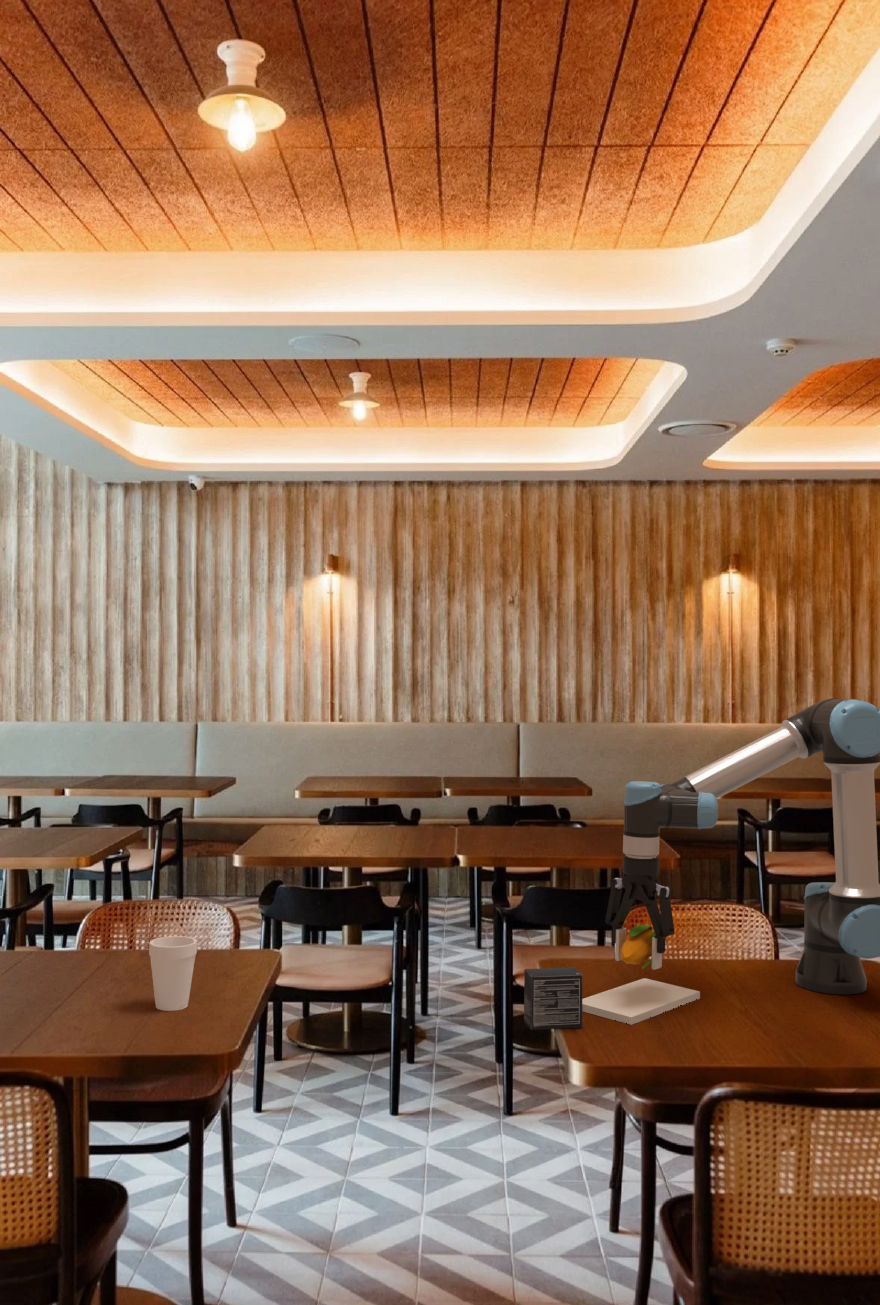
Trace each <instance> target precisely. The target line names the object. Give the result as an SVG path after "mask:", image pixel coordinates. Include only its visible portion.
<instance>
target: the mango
mask: <svg viewBox="0 0 880 1305" xmlns="http://www.w3.org/2000/svg"><path fill="white" fill-rule="evenodd" d="M654 936H656V935H655V932H654V930H653V926H650V925H647V924H639V925H636V926H635V927H632V928H631V929H630V930H629V932H628V937H626V941H625V942H624V944H623V945H622V947H621V960H620V961H622V963H624V964H625V965H628V966H633V965H639V964H641V963H643V962H644V961H646V960H647V959H648V958H649V957H652V937H654ZM651 964H652V958H651V959H650V960H648V961H647V962H645V963H644V964H643V965H642V967H641V968H640V969H641V970H643V969H645V968H646V967H648V966H649V965H651Z"/></svg>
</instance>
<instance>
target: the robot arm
mask: <svg viewBox="0 0 880 1305" xmlns="http://www.w3.org/2000/svg"><path fill="white" fill-rule="evenodd" d="M819 753H822V757H823V759H822V760H823V761H822V762H823V764H824V765H825V767H827V768H828V769H829V770H830V774H831V796H832V797H831V798H832V799H831V800H832V818H833V820H832V821H833V823H832V824H833V843H834V845H833V846H834V863H835V864H834V866H835V882H830V881H829V882H824V881H823V882H817V881H816V882H810V883H808V884H807V885H805V892H804V897H803V900H804V911H803V912H804V918H803V919H804V923H803V924H804V927H803V928H804V930H803V936H804V937H803V938H804V939H803V946H804V947H803V950H802V953H801V956H800V959H799V961H798V964H797V967H796V970H795V974H794V975H795V983H796V985H798V986H799V987H801V988H803V989H806V990H809V991H812V992H816V993H823V994H831V995H857V994H861V993H864V992H865V991H867V981H868V980H867V977H866V972H865V970H864V967H863V963H862V961H861V959H867V960H868V959H870V960H871V959H875V958H878V957H880V882H879V863H878V862H879V860H878V840H877V837H878V836H877V835H878V834H877V817H876V815H877V814H876V812H877V811H876V788H875V770H876V769H877V768H878V767H879V766H880V709H879V708H878V706H875V705H874V704H872V703H870V702H868V701H864V700H861V699H853V698H852V699H851V698H850V699H843V698H835V697H834V698H826V699H822V700H820V701H818V702H816V703H814V704H812V705H810V706H808V707H806V708H803V709H802V710H800V711H799V712H797V713H795V714H793V715H791V716H790V717H788V718H786V719H784V720H782V723H781V725H780V727H779V728H776V729H775V730H773V731H771V732H769V733H767V734H765V735H763V736H761V737H759V738H757V739H755V740H754V741H752V742H749V743H747V744H746V745H743V746H742V747H740V748H738V749H736V750H734V751H732V752H731V753H728V754H727V755H724V756H723V757H721V758H719V759H716V760H715V761H712V762H710V763H708V764H707V765H705V766H703V767H701V768H699V769H697V770H695V771H694V772H692V773H690V774H688V775H686V776H684V777H682V778H680V779H678V780H676V781H674V782H671V783H663V784H660V783H659V782H653V781H645V780H644V781H642V780H640V781H639V780H637V781H635V780H634V781H629V782H627V783H626V785H625V788H624V789H625V790H624V798H623V799H624V800H623V835H622V836H623V837H622V838H623V840H622V842H623V843H622V853H623V854H624V856H622V873H623V874H622V875H623V876H622V877H621V878H620V877H615V878H611V879H610V880H609V885H610V894H609V899H608V904H607V909H606V913H605V920H604V922H605V924H606V925H609V926H611V927H612V933H613V934H612V941H613V944H615V952H614V954H615V955H614V956H615V961H617V962H619V961H622V960H621V947H622V945H623V944H624V942H625V941H626V939H627V928H626V927H625V926H626V925H625V922H626V920H627V918H628V915H629V913H630V911H631V909H632V906H633V904H634V902H635V901H636V900H638V901H640V902H642V903H643V905H644V907H645V908H646V911H647V913H648V917H649V919H650V923H651V925H652V926H651V927H652V930H653V932H655V935H656V936H654V937H652V955H651V959H652V963H651V970H658V969H662V967H663V964H662V963H663V954H664V953H665V952H666V941H667V940H666V939H667V937H670V936H674V935H675V933H676V932H675V924H674V919H673V911H672V909H673V908H672V903H671V895H672V887H671V886H664V885H661V884H660V882H659V880H658V877H659V874H660V868H659V867H660V858H659V857H658V856H659V854H660V835H661V834H660V833H661V832H660V831H661V828H664V829H665V828H667V829H668V828H674V829H698V830H701V829H712V828H714V827H715V825H716V824H717V823H718V817H719V804H718V800H717V799H719V798H721V797H724V795H727V794H730V793H731V792H733V791H735V790H737V789H739V788H740V787H743V786H744V785H747V784H749V783H751V782H752V781H754V780H756V779H758V778H761V777H762V776H764V775H766V774H768V773H770V772H772V771H774V770H775V769H776V770H777V768H779V767H782V766H784V765H785V764H788V763H789V762H791V761H794V760H795V759H797V758H800V759H807V758H809V757H811V756H813V755H816V754H819ZM623 888H624V889H625V891H624V894H623V897H622V893H623V892H622V891H623ZM657 896H658V898H657ZM621 899H622V902H621ZM620 902H621V903H620ZM658 904H659V906H658Z"/></svg>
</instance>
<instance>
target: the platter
mask: <svg viewBox="0 0 880 1305" xmlns="http://www.w3.org/2000/svg"><path fill="white" fill-rule="evenodd" d="M700 998H701V992H700V990H699V991H698V990H695V989H690V988H687V987H683V986H680V985H679V986H678V985H674V984H671V983H666V982H662V981H658V980H655V979H654V980H653V979H650V978H645V977H644V978H643V977H642V978H641V979H638V980H635V981H632V982H628V983H625V984H622V985H620V986H617V987H614V988H610V989H608V990H605V991H602V992H598V993H596V994H593V995H590V996H587V997H585V998H582V1013H586V1014H589V1015H590V1014H591V1015H594V1016H598V1017H602V1018H604V1019H608V1020H612V1021H615V1020H616V1021H615V1022H619V1023H623V1024H626V1023H627V1024H626V1025H630V1026H632V1025H635V1024H638V1023H640V1022H643V1021H645V1020H649V1019H651V1018H653V1017H655V1016H658V1015H660V1014H664V1013H666V1012H669V1011H671V1010H674V1009H676V1008H679V1007H681V1006H680V1005H682V1006H684V1005H687V1004H689V1002H690V1003H692V1002H694V1001H697V1000H700ZM696 999H697V1000H696ZM686 1003H687V1004H686ZM678 1006H679V1007H678ZM673 1008H674V1009H673ZM665 1011H666V1012H665ZM663 1012H664V1013H663ZM650 1017H651V1018H650Z"/></svg>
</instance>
